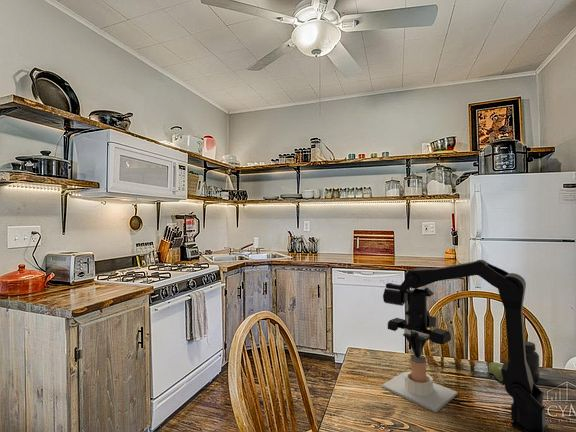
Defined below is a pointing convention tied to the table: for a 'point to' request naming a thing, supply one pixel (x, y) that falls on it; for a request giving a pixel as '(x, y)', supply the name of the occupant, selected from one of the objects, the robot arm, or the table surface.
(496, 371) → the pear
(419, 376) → the plug
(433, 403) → the plate with ring collar
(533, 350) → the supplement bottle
